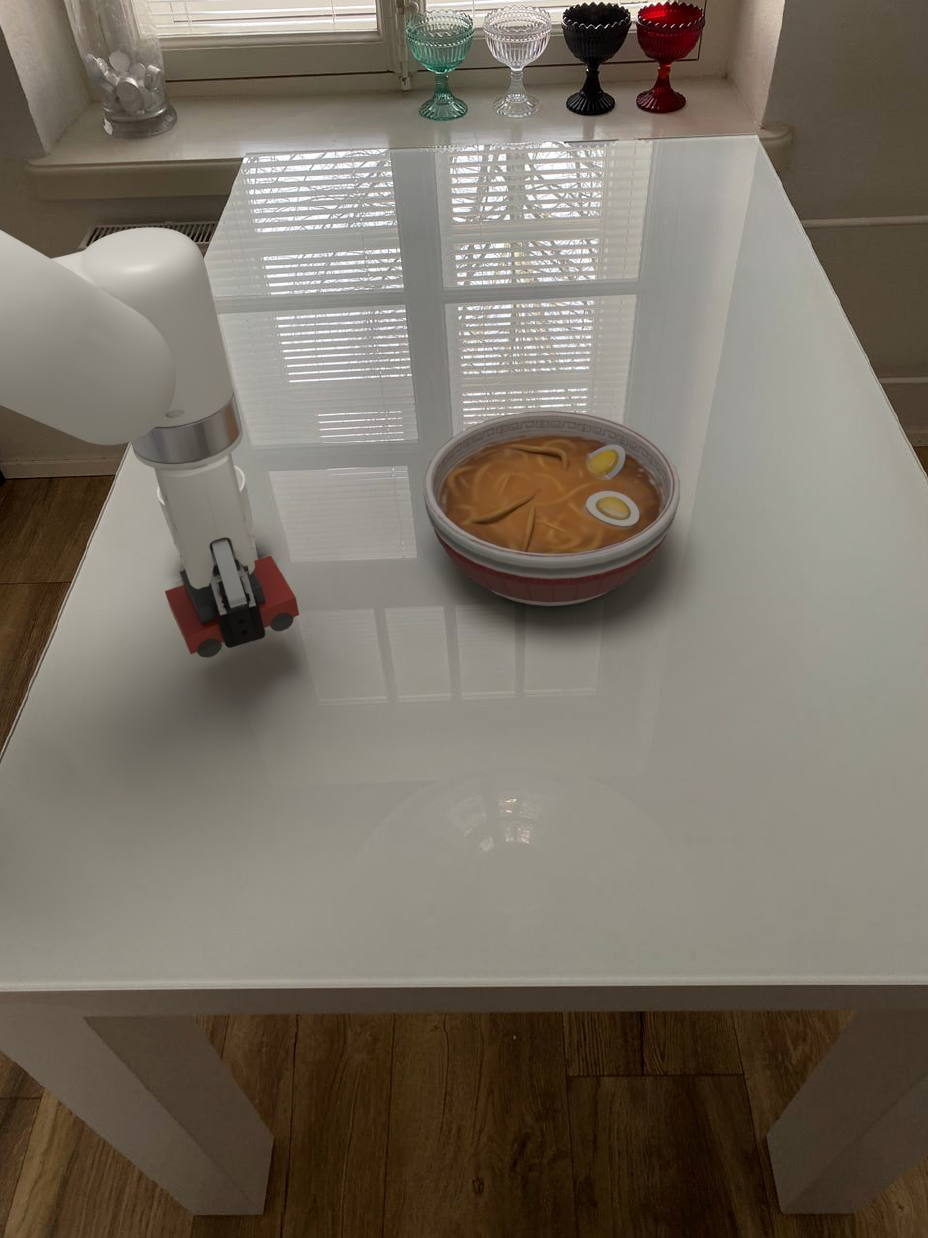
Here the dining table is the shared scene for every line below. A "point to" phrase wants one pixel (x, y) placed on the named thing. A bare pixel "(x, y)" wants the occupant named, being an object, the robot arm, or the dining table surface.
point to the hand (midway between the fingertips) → (235, 611)
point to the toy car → (198, 604)
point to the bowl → (551, 504)
